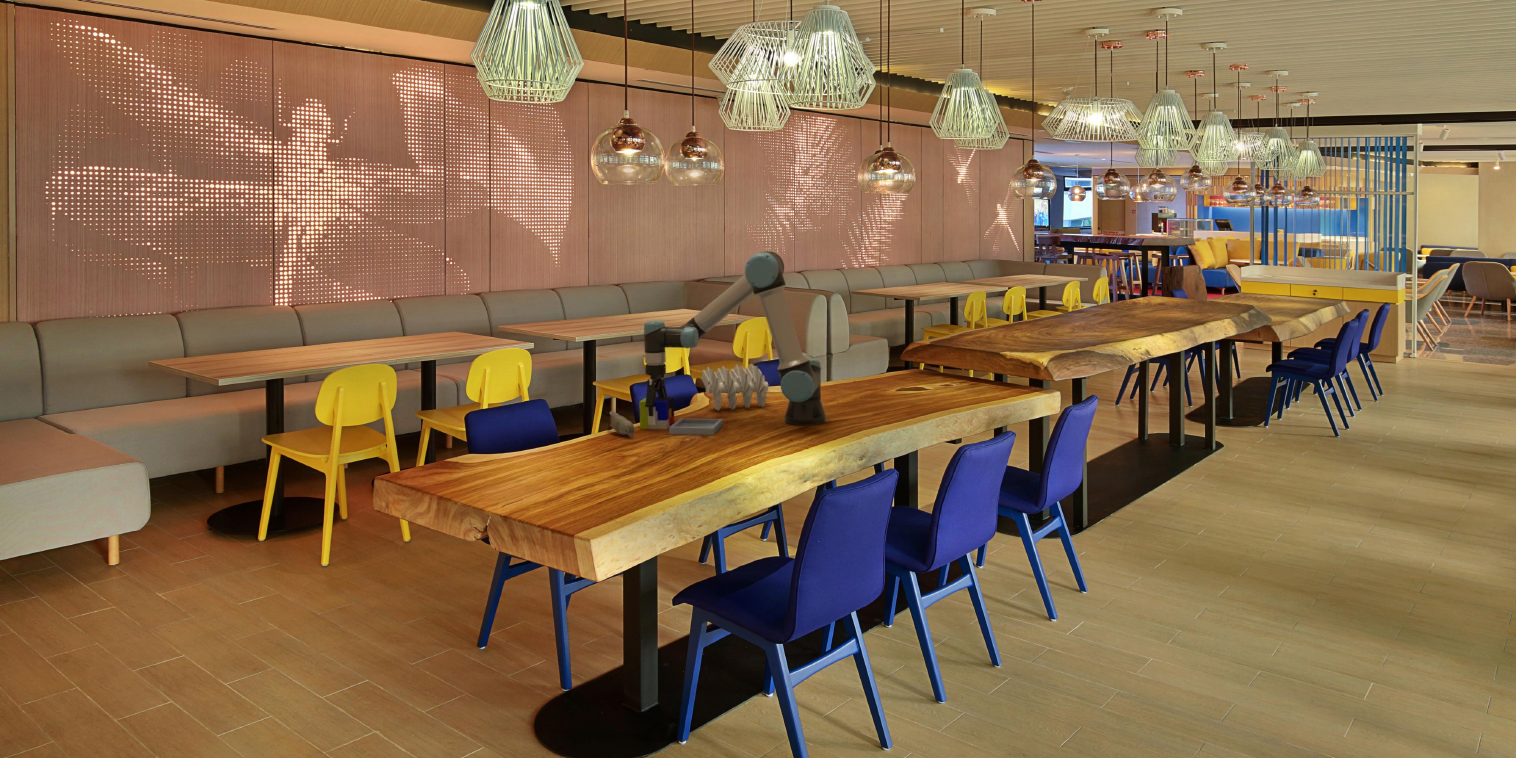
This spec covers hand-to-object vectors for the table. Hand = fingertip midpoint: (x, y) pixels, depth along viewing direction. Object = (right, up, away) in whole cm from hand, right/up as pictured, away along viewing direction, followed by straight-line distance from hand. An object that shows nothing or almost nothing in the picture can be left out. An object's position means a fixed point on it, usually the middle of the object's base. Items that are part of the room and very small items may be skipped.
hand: (657, 420), depth 378 cm
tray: (+15, -3, -7) cm, 17 cm away
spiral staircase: (+29, +3, +30) cm, 42 cm away
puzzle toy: (0, -2, 0) cm, 2 cm away
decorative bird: (-11, -5, -13) cm, 18 cm away
